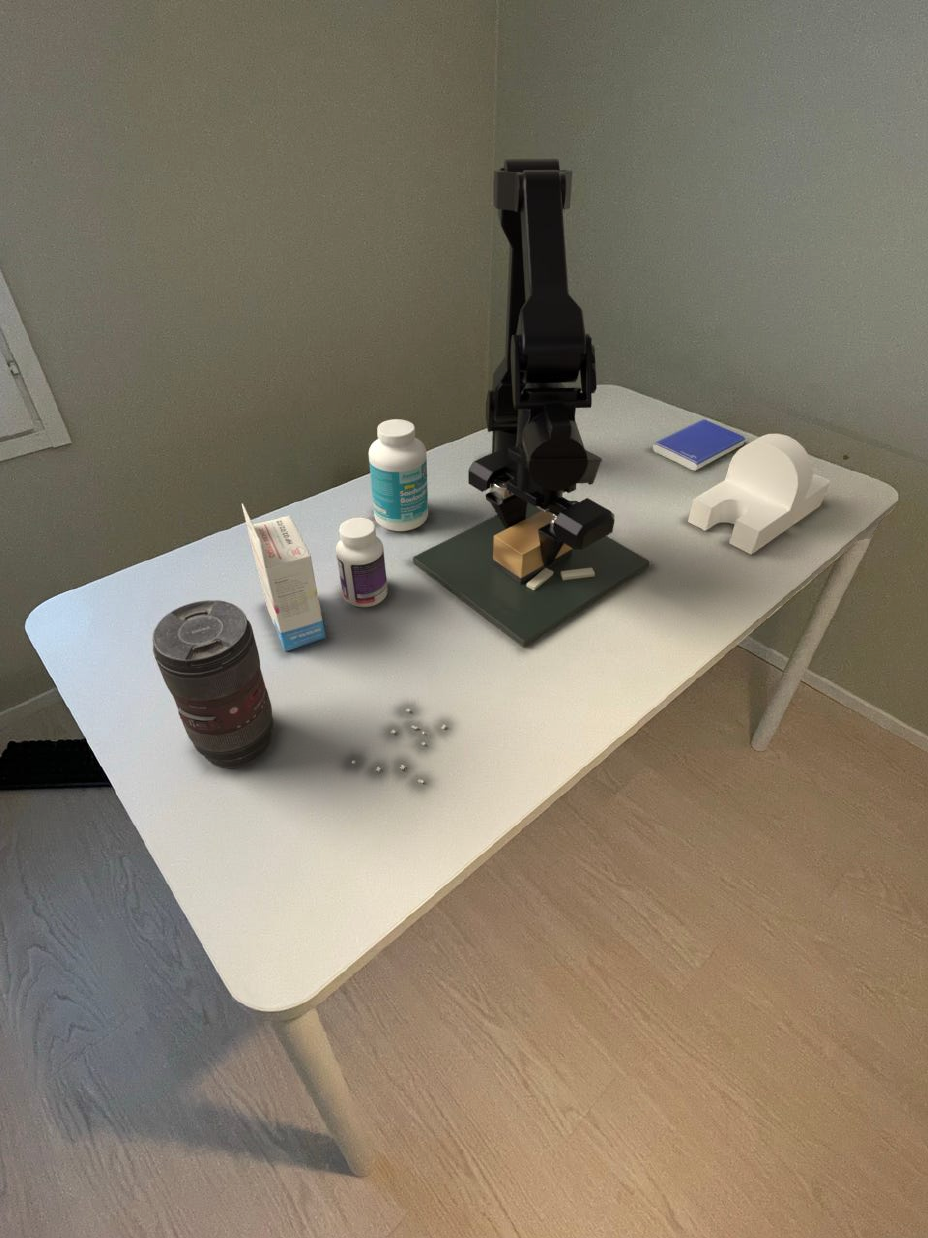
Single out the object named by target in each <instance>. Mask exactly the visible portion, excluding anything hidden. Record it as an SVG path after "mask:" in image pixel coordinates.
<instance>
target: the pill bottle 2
mask: <svg viewBox="0 0 928 1238" xmlns="http://www.w3.org/2000/svg"><path fill="white" fill-rule="evenodd" d="M376 430H377V431H376V432H377V439H375V440H374V441H373V442H372V443H371V445H370V446H369V449H368V462H369V463H368V464H369V474H370V484H371V485H370V486H371V495H372V497H371V498H372V507H373V517H374V519H375V521H376V523H377V524H378V526H379V525H380V527H382V528H383V529H386V530H390V531H394V532H405V531H412V530H415V529H418V528H419V527H420V526H422V525H424V523H425V522H426V521H427V519H428V516H429V492H428V491H429V489H428V458H427V455H428V454H427V449H426V446H425V444H424V443H423V442H422V440H420V439H419V438H417V437H416V427H415V425H414V424H413V423H412V422H411V421H410V420H406V419H399V418H395V419H387V420H384V421H382V422H381V423H379V424H378V425H377V428H376Z"/></svg>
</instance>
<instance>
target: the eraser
mask: <svg viewBox="0 0 928 1238" xmlns="http://www.w3.org/2000/svg"><path fill="white" fill-rule="evenodd" d="M551 520H552V513H551V512H549V511H548V512H543V511H541V512H539V513H537V514H535V515H533V516H531V517H529V518H527V519H525V520H523V521H521V522H519V523H517V524H515V525H513V526H512V527H510V528H508V529H506V530H504V531H502V532H500V533H498V534H496V535H494V546H493V565H494V566H495V567H497V568H498V569H499V570H501V571H502V572H504V573H505V574H507V575H508V576H509V577H511V578H512V579H514V580H515V581H517V582H518V583H519V584H522V583H524V582H526V581H527V580H529V579H531V578H533V577H534V576H536V575H537V574H539V573H540V572H541V571H542V570H543V569H545V568H547V569H548V568H550V567H552V566H553V565H555V564H557V563H559V562H560V561H562V560H564V559H566V558H567V557H569V556H571V555H572V549H573V548H571V547H570V546H568V545H566V544H565V543H564V544H563V546H562V548H561V549H560V551H559V553H558V554H557V556H556V558H555V559H554V561H553V563H552V564H551V565H549V566H547V567H546V566H544V564H543V560H542V555H541V548H540V540H539V534H538V529H540V528H541V527H543V526H545V525H547V524H549V523H551Z"/></svg>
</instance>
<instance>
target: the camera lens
mask: <svg viewBox="0 0 928 1238" xmlns="http://www.w3.org/2000/svg"><path fill="white" fill-rule="evenodd" d="M152 653H153V656H154V659H155V661H156V663H157V666H158V669H159V672H160V674H161V676H162V679H163V681H164V683H165V685H166V687H167V689H168V691H169V692H170V694H171V695H172V697H173V700H174V703H175V705H176V707H177V710H178V711H177V712H178V715H179V719H180V721H181V722H182V725H183V728H184V730H185V733H186V735H187V737H188V738H189V740H190V741H191V742H192V744H193V746H194V748H195V750H196V751H197V752H198V753H199V754H200V755H202V756H203V757H204V758H205V759H206V760H207V761H208V762H209V763H211V764H212V765H214V766H217V767H219V768H227V769H228V768H229V769H233V768H238V767H243V766H246V765H248V764H250V763H253V762H254V761H256V760H257V759H258V758H260V757H261V756H262V755H263V754H264V753H265V751H267V749H268V747H269V746H270V744H271V742H272V737H273V728H274V717H273V708H272V707H273V706H272V702H271V699H270V695H269V692H268V689H267V688H266V683H265V679H264V676H263V673H262V669H261V659H260V653H259V650H258V646H257V642H256V638H255V633H254V630H253V627H252V624H251V621H250V620H249V619H248V617H247V616H246V613H245V612H244V610H243V609H241V608H240V607H239V606H238V605H235V604H234V603H231V602H229V601H225V600H218V599H216V600H214V599H213V600H211V599H207V600H199V601H194V602H191V603H186V604H184V605H181V606H179V607H177V608H175V609H173V610H172V611H170V612H169V613H167V614H166V615H164V616H163V617H162V618H161V619H160V620H159V621H158V623H157V624H156V626H155V627H154V629H153V632H152Z"/></svg>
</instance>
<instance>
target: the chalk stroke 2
mask: <svg viewBox="0 0 928 1238" xmlns="http://www.w3.org/2000/svg"><path fill="white" fill-rule="evenodd" d="M560 575H561V577H562V579H563V580H569V579H577V578H585V577H593V576H595V573H594V571H593V569H592V568H584V569H575V570H567V571H561V573H560Z"/></svg>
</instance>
